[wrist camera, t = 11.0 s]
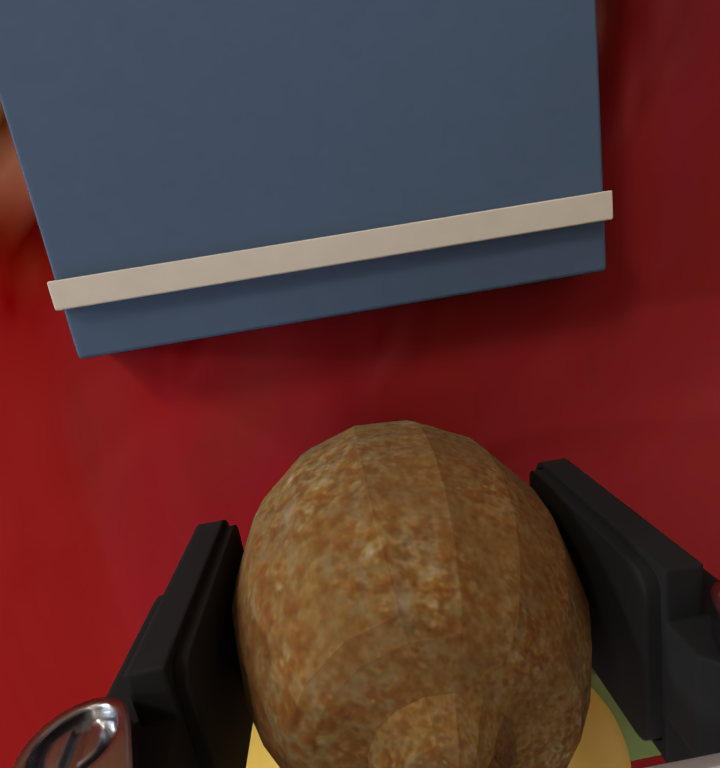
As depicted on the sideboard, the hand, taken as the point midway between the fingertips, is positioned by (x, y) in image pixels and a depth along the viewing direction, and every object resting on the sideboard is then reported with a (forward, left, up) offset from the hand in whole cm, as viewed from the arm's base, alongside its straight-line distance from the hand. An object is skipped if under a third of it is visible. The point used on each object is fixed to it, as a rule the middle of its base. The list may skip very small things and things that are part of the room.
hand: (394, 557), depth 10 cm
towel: (0, -9, -3) cm, 9 cm away
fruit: (0, 0, -3) cm, 3 cm away
